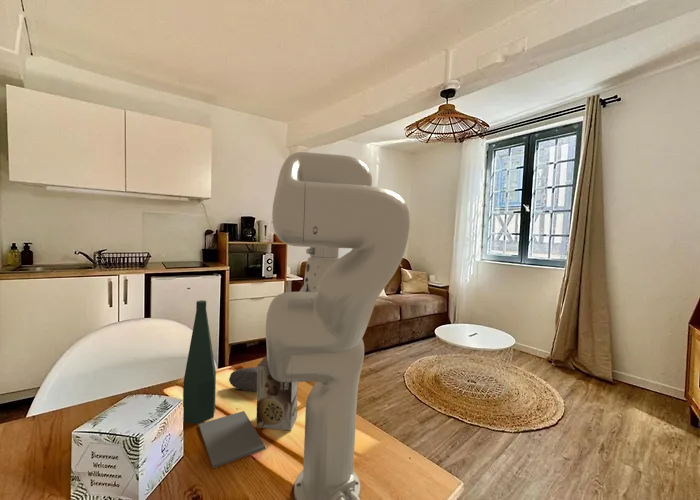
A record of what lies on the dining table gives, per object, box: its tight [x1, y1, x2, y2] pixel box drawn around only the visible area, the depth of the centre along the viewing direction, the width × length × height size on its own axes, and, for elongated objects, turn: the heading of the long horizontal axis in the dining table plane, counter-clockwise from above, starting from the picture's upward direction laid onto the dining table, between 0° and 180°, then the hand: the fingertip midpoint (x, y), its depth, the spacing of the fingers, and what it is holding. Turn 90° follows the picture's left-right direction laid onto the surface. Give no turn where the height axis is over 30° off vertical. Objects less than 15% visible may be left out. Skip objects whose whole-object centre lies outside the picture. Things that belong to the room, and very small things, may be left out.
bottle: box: [182, 300, 217, 425], centre depth 81 cm, size 8×8×30 cm
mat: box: [198, 410, 267, 469], centre depth 74 cm, size 16×11×1 cm
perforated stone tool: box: [228, 366, 257, 393], centre depth 96 cm, size 15×5×7 cm, turn 86°
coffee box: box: [255, 354, 299, 431], centre depth 80 cm, size 9×6×16 cm
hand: (321, 318), depth 86 cm, fingers open, 4 cm apart
